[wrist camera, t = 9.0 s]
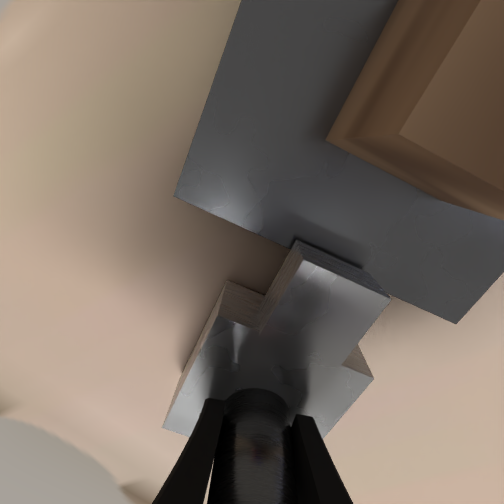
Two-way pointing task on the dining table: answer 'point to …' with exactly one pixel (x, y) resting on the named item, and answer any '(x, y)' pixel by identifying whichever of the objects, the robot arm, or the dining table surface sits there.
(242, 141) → the metal bracket
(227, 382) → the ram
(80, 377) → the dining table surface
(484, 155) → the wooden block
